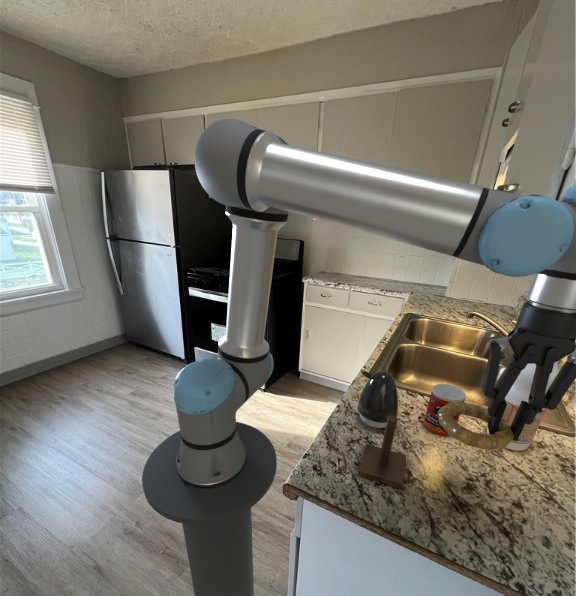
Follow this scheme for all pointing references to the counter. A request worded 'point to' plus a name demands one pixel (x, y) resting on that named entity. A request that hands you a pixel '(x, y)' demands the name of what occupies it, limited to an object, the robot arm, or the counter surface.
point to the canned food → (441, 405)
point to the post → (384, 459)
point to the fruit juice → (521, 393)
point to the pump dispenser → (378, 399)
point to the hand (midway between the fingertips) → (501, 432)
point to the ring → (469, 437)
